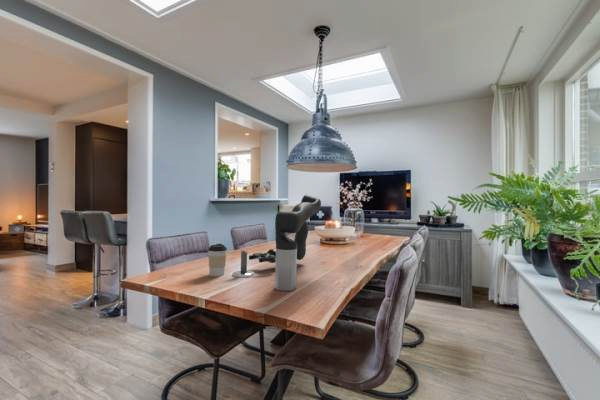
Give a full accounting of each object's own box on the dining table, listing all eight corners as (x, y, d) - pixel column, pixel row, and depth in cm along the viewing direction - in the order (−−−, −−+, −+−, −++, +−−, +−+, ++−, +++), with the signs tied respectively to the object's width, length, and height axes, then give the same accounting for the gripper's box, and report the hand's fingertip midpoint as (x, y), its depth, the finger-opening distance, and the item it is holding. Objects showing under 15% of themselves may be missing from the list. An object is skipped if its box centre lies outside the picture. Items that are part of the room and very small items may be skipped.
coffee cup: (223, 277, 140) (224, 246, 140) (204, 276, 140) (205, 245, 140) (228, 272, 149) (229, 243, 149) (210, 272, 149) (211, 243, 149)
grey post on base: (252, 278, 140) (252, 253, 140) (229, 277, 141) (230, 252, 141) (256, 272, 151) (257, 249, 151) (235, 271, 152) (236, 248, 152)
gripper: (268, 246, 168) (246, 250, 156) (286, 250, 158) (263, 253, 146) (268, 259, 168) (245, 263, 156) (285, 264, 158) (262, 268, 146)
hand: (254, 259), depth 151 cm, fingers open, 8 cm apart
